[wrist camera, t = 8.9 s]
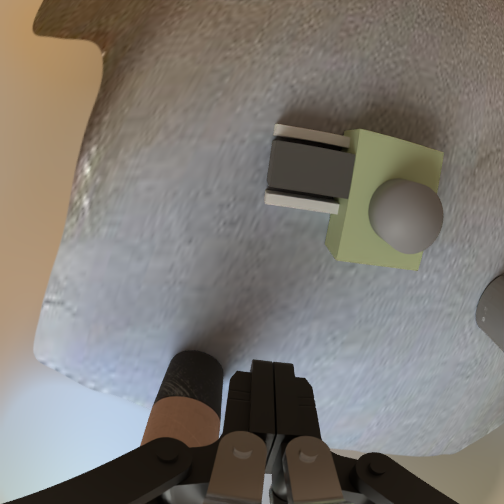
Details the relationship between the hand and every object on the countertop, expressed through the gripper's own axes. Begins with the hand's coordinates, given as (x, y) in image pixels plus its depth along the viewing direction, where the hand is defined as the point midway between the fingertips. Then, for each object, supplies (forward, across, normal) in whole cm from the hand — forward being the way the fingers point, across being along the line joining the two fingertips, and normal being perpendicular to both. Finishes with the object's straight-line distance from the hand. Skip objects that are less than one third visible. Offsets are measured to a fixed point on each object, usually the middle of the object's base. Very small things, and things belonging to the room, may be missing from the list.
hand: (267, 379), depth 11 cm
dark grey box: (+23, -3, -7) cm, 24 cm away
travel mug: (+23, +6, +20) cm, 31 cm away
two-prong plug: (+23, -7, -6) cm, 25 cm away
